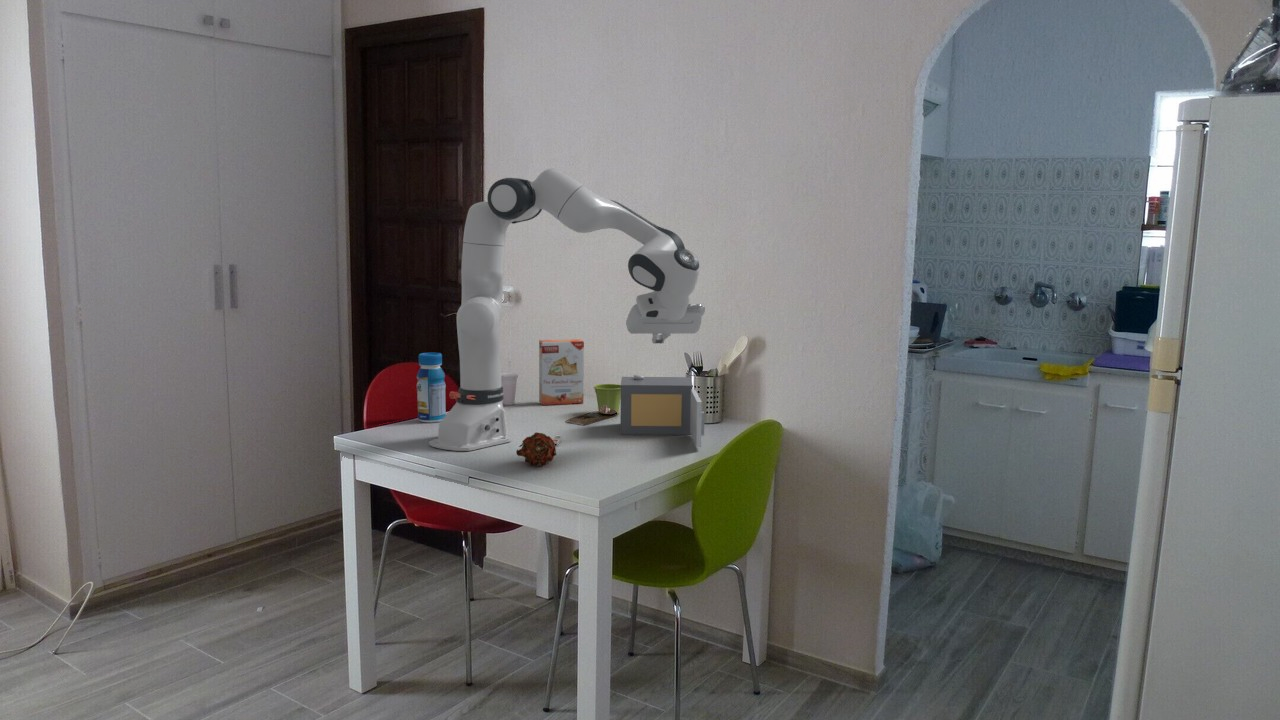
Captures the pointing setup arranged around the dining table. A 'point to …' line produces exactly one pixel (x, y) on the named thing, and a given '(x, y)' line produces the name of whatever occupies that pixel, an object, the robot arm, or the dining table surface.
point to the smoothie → (509, 386)
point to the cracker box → (561, 371)
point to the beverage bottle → (431, 388)
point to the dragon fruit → (537, 449)
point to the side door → (696, 418)
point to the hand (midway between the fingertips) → (657, 341)
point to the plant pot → (608, 396)
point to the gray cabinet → (656, 405)
